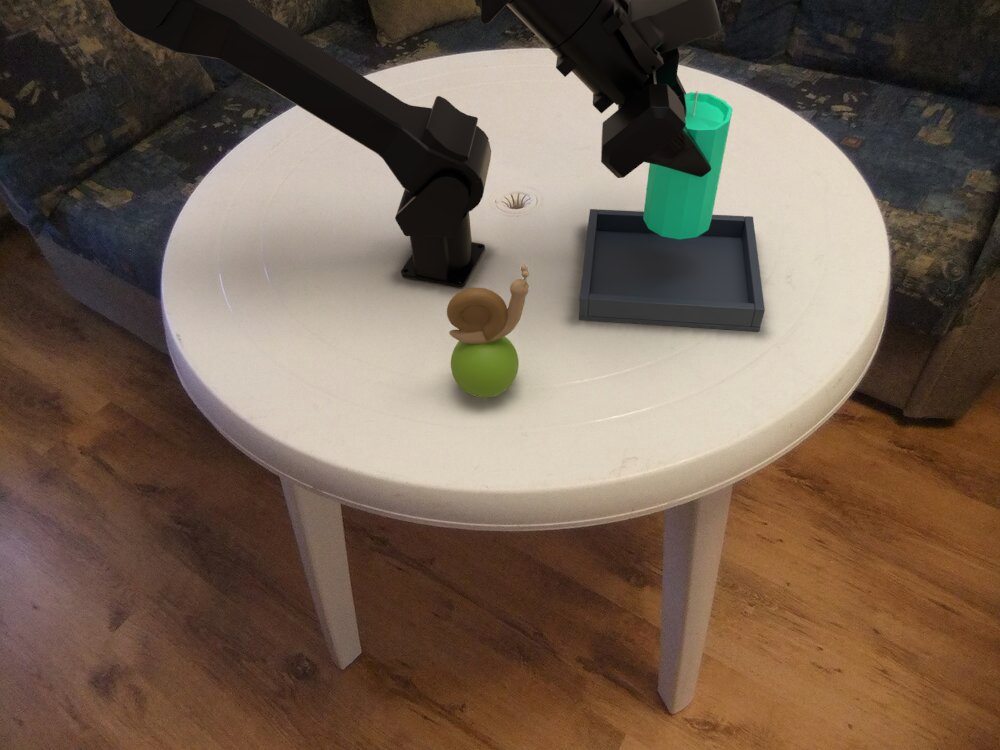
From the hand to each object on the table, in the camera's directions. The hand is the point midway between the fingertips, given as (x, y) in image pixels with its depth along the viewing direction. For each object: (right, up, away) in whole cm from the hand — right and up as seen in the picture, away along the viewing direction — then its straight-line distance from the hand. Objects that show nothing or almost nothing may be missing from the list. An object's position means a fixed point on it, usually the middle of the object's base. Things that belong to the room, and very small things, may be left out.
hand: (703, 154), depth 66 cm
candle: (-1, -5, +5) cm, 7 cm away
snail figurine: (-18, -19, 0) cm, 26 cm away
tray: (-1, -9, +8) cm, 12 cm away
